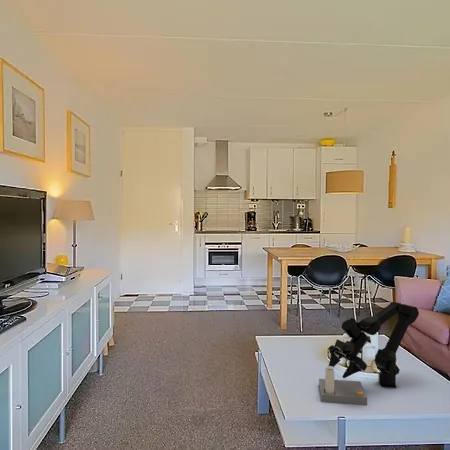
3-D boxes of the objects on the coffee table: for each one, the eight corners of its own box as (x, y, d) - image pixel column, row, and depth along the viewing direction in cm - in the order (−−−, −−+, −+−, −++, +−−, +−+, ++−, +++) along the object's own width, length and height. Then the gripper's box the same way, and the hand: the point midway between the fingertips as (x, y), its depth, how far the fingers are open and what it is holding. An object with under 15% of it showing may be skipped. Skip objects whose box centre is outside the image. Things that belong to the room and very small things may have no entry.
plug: (333, 396, 169) (333, 366, 168) (334, 400, 165) (334, 369, 165) (325, 396, 169) (325, 365, 169) (325, 400, 166) (326, 368, 165)
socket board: (360, 387, 177) (360, 379, 177) (367, 405, 162) (367, 395, 161) (318, 385, 180) (318, 376, 180) (321, 401, 164) (321, 392, 164)
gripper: (331, 327, 179) (311, 354, 174) (362, 339, 162) (340, 370, 157) (345, 342, 182) (325, 369, 178) (376, 355, 165) (355, 386, 161)
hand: (335, 373), depth 168 cm, fingers open, 9 cm apart
